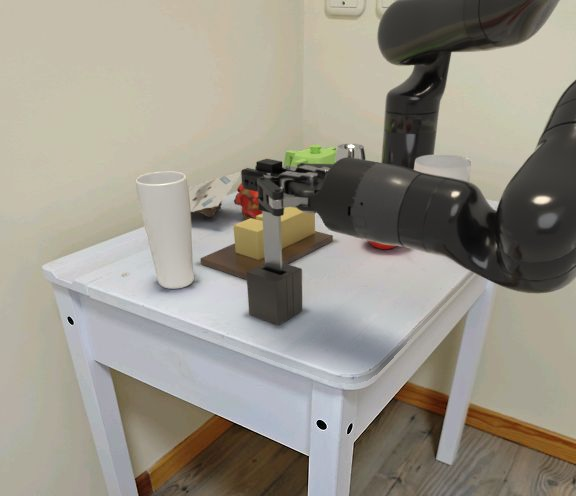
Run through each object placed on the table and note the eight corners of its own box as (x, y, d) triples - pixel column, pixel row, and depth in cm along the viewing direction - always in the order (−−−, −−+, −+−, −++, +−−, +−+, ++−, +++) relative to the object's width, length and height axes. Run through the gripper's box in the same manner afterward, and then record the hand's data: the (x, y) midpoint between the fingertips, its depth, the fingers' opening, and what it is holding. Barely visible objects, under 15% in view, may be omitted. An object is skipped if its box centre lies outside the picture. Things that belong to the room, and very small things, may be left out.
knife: (270, 268, 72) (265, 158, 64) (286, 273, 71) (283, 161, 63) (261, 272, 71) (255, 161, 63) (276, 277, 70) (272, 165, 62)
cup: (462, 228, 98) (474, 155, 91) (458, 246, 91) (470, 170, 84) (410, 223, 101) (418, 152, 94) (402, 241, 94) (409, 166, 87)
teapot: (293, 206, 110) (292, 154, 104) (281, 190, 119) (280, 141, 113) (351, 201, 112) (353, 149, 106) (335, 185, 121) (336, 136, 115)
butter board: (282, 227, 100) (282, 222, 100) (332, 241, 94) (332, 235, 94) (200, 264, 88) (200, 258, 87) (252, 282, 82) (252, 275, 81)
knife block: (273, 300, 77) (272, 259, 74) (302, 310, 74) (302, 268, 71) (249, 314, 74) (246, 272, 70) (278, 325, 71) (276, 282, 68)
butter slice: (252, 245, 91) (250, 217, 89) (275, 252, 89) (274, 224, 86) (235, 252, 89) (233, 224, 86) (258, 260, 86) (257, 231, 83)
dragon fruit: (242, 218, 109) (287, 242, 103) (215, 202, 102) (261, 226, 96) (263, 178, 107) (309, 199, 101) (236, 158, 100) (285, 180, 94)
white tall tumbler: (178, 296, 79) (162, 187, 70) (143, 286, 82) (123, 180, 73) (209, 278, 83) (197, 174, 75) (174, 269, 86) (159, 168, 78)
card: (197, 208, 114) (183, 186, 111) (256, 192, 106) (243, 168, 103) (170, 242, 108) (155, 220, 105) (231, 228, 99) (216, 204, 96)
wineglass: (362, 220, 103) (365, 150, 96) (330, 218, 104) (332, 150, 97) (364, 210, 107) (368, 143, 100) (334, 208, 108) (336, 142, 101)
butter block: (292, 227, 98) (291, 201, 95) (315, 233, 95) (315, 206, 92) (257, 242, 92) (255, 215, 89) (280, 249, 89) (279, 222, 87)
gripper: (414, 149, 59) (287, 130, 68) (337, 180, 50) (204, 154, 60) (407, 220, 63) (288, 193, 72) (335, 259, 55) (211, 223, 64)
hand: (250, 175), depth 66 cm, fingers closed on knife, 2 cm apart
